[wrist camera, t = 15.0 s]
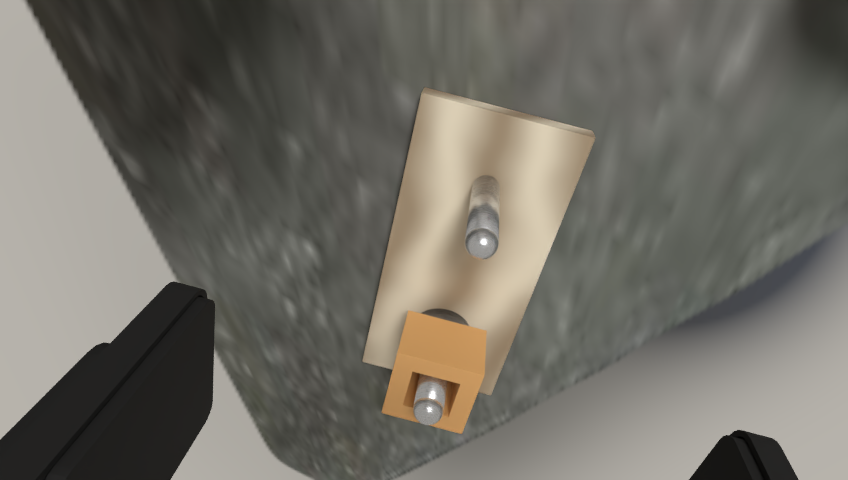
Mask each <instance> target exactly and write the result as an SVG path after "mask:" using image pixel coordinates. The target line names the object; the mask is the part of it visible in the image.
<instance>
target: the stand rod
mask: <svg viewBox="0 0 848 480" xmlns="http://www.w3.org/2000/svg"><path fill="white" fill-rule="evenodd" d="M499 208H500V185H499V182H498V181H497V180H496V179H495V178H494V177H492V176H489V175H483V176H480V177H478V178H476V179H475V181H474V182H473V184H472V191H471V198H470V206H469V213H468V221H467V229H466V236H465V248H466V250H467V252H468V254H469V255H470V256H472V257H473V258H475V259H478V260H485V259H488V258H490V257H492V256H493V255H494V254H495V253H496V251H497V249H498V245H499Z"/></svg>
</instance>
